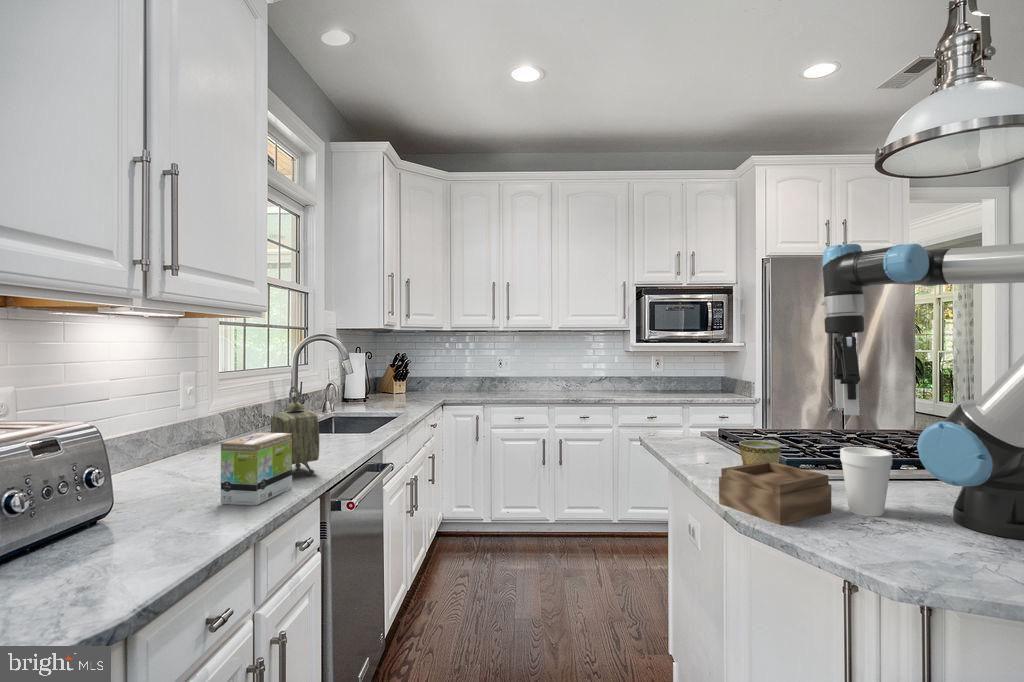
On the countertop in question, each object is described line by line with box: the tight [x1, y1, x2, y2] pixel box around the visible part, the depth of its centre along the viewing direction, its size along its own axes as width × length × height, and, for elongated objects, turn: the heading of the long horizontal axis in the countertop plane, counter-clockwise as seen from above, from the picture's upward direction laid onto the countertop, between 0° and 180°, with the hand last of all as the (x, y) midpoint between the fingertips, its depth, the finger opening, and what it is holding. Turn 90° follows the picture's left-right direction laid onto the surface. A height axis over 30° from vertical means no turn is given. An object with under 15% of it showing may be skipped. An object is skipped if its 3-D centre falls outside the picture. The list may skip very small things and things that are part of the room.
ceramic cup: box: [738, 439, 782, 465], centre depth 145 cm, size 13×10×10 cm
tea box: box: [220, 432, 293, 506], centre depth 138 cm, size 15×10×15 cm, turn 171°
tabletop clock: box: [270, 385, 320, 476], centre depth 159 cm, size 14×9×25 cm, turn 40°
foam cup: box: [839, 446, 893, 517], centre depth 120 cm, size 10×9×13 cm
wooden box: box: [718, 461, 832, 526], centre depth 123 cm, size 16×16×8 cm
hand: (847, 411), depth 123 cm, fingers open, 13 cm apart
